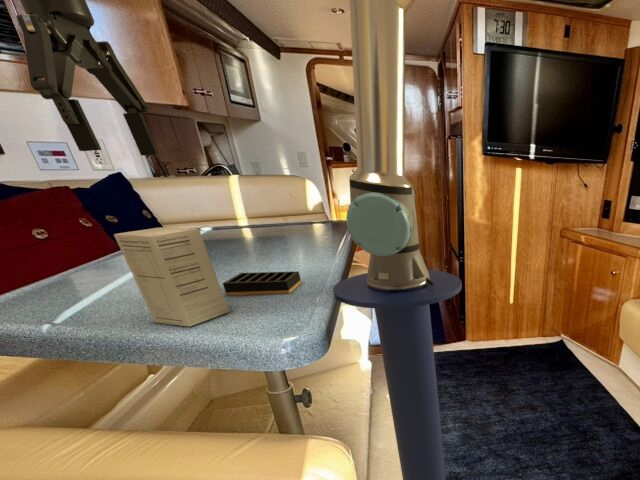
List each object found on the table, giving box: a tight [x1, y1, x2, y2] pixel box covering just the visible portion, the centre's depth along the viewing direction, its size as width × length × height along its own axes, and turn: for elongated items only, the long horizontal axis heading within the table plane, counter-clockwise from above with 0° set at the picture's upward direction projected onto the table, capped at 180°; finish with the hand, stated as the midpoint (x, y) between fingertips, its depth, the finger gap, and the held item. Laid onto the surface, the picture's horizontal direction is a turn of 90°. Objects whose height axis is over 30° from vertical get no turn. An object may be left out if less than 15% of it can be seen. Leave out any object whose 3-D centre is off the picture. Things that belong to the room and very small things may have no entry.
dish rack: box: [222, 271, 302, 296], centre depth 98 cm, size 14×10×3 cm
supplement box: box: [113, 226, 230, 328], centre depth 77 cm, size 10×9×17 cm
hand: (123, 153), depth 68 cm, fingers open, 13 cm apart
